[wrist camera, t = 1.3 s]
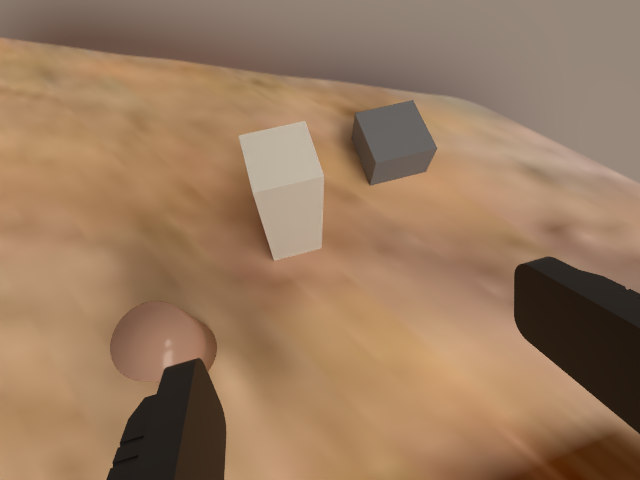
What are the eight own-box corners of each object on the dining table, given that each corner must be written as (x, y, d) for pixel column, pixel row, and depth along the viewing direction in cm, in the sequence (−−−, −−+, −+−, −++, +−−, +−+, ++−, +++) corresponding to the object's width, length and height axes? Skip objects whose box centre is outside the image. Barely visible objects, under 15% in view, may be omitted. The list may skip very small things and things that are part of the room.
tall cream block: (274, 260, 33) (252, 193, 22) (263, 218, 35) (238, 135, 24) (321, 248, 33) (324, 176, 22) (308, 206, 35) (305, 120, 24)
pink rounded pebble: (158, 392, 29) (112, 391, 22) (152, 330, 30) (108, 312, 24) (221, 373, 29) (194, 367, 23) (211, 313, 31) (183, 292, 25)
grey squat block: (369, 186, 36) (376, 163, 33) (351, 140, 39) (354, 113, 35) (425, 172, 37) (437, 148, 33) (403, 127, 39) (412, 100, 36)
